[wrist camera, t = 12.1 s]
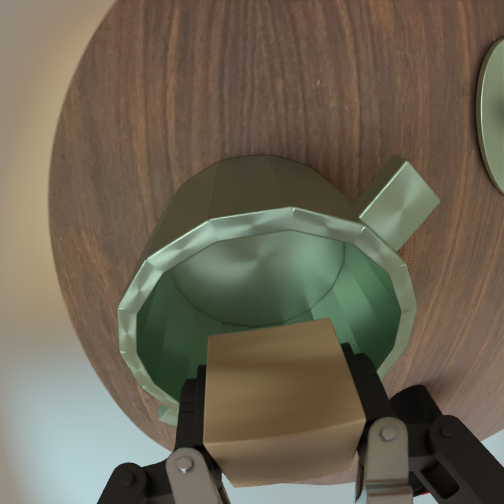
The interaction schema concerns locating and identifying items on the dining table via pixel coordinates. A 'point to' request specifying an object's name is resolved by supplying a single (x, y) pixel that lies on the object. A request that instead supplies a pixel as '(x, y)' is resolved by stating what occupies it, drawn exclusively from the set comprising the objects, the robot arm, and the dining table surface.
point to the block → (280, 404)
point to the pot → (271, 266)
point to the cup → (415, 418)
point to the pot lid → (492, 113)
